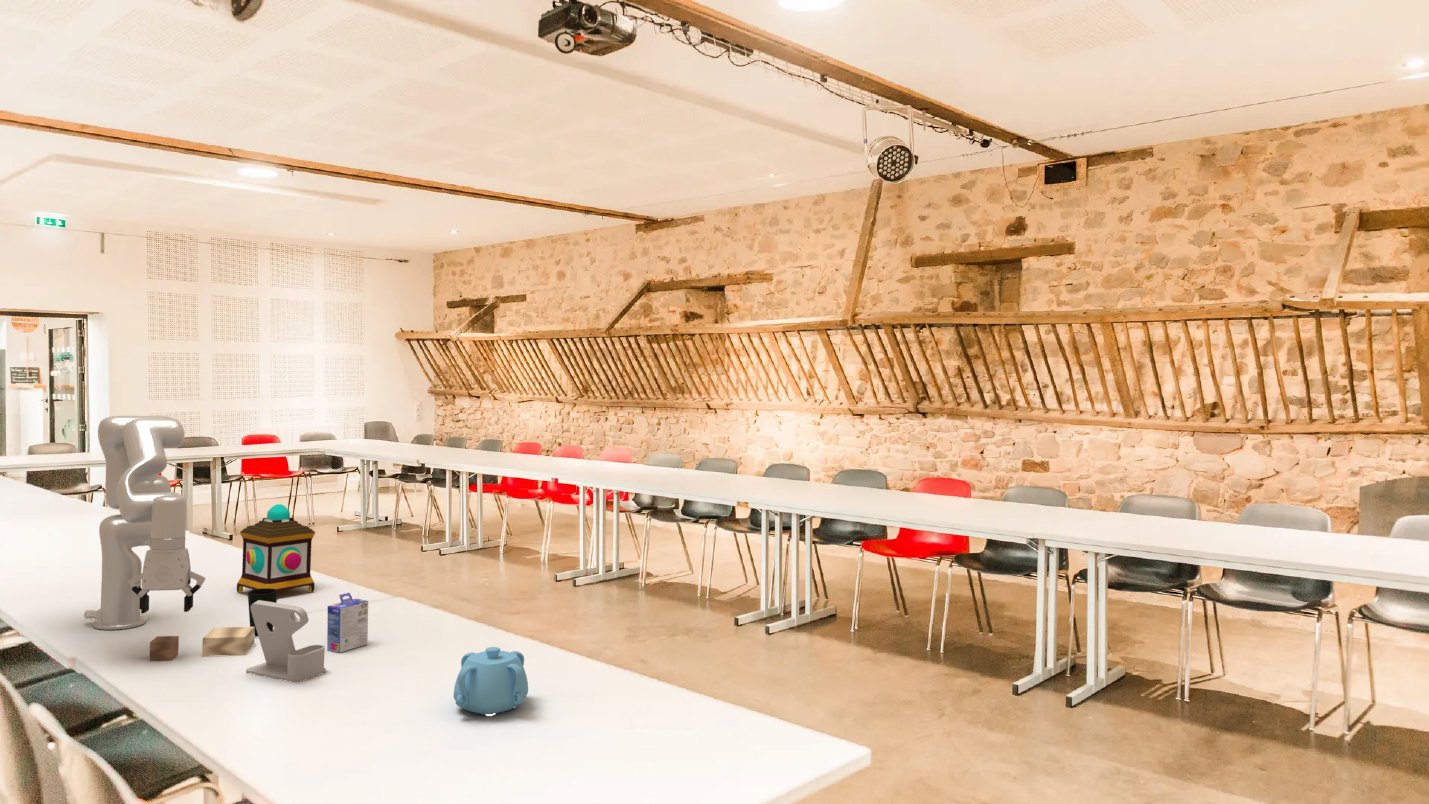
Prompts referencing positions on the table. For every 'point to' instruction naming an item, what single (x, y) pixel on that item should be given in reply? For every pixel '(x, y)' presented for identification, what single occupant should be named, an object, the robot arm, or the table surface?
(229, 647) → the oak block
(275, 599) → the cup
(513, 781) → the table surface
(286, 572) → the decorative lantern
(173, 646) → the walnut cube
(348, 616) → the ink cartridge box
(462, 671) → the decorative pot
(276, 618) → the phone holder
